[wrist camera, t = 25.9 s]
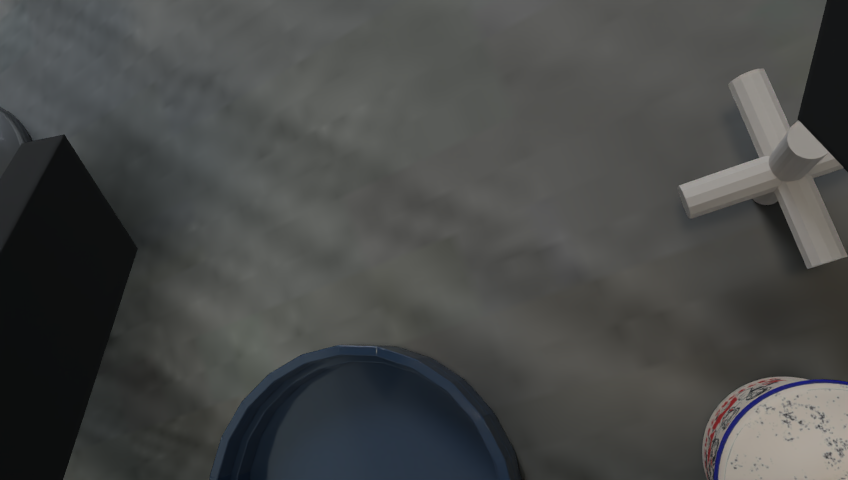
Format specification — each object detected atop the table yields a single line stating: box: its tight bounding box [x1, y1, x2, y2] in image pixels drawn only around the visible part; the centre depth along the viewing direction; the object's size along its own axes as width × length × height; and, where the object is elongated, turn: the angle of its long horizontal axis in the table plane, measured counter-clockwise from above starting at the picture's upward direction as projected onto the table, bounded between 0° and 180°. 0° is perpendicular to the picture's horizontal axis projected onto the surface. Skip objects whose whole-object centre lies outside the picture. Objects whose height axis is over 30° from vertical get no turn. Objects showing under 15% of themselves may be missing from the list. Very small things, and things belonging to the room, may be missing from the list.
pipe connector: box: [678, 69, 848, 269], centre depth 33 cm, size 10×10×10 cm
